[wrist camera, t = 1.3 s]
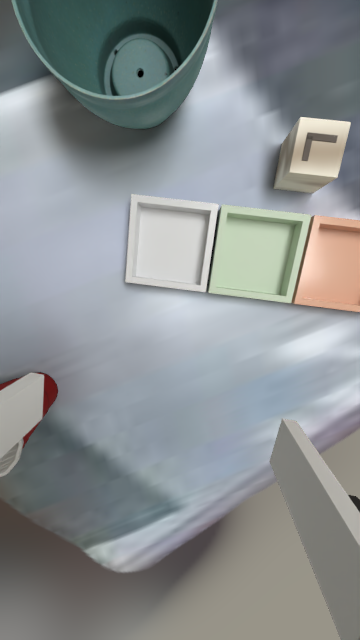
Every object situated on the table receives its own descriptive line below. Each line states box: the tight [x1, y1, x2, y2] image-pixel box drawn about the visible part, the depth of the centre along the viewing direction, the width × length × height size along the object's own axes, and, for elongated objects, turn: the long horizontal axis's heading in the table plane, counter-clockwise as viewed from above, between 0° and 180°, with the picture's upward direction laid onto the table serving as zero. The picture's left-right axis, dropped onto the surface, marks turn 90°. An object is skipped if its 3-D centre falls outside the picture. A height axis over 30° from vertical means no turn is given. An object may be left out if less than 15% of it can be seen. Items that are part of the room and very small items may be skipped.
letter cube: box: [273, 117, 351, 193], centre depth 26 cm, size 5×5×5 cm
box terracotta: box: [291, 215, 360, 312], centre depth 29 cm, size 11×11×2 cm
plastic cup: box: [0, 372, 58, 477], centre depth 31 cm, size 11×11×12 cm
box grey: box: [125, 194, 219, 292], centre depth 30 cm, size 11×11×2 cm
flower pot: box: [11, 0, 218, 129], centre depth 22 cm, size 16×16×11 cm
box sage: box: [208, 205, 311, 303], centre depth 29 cm, size 11×11×2 cm
